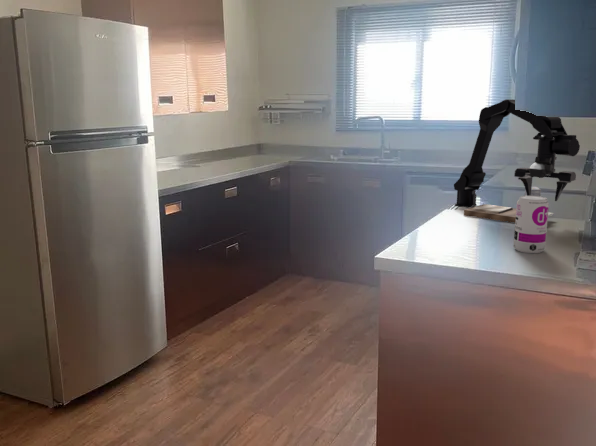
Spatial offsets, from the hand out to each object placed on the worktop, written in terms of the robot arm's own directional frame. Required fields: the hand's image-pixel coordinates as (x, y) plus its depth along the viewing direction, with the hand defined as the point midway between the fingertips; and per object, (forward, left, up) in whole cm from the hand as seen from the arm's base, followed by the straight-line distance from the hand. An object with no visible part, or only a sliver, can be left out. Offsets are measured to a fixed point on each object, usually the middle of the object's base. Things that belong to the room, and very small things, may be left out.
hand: (542, 199), depth 202 cm
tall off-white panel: (-1, 0, -6) cm, 6 cm away
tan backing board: (-14, 0, -8) cm, 16 cm away
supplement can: (+12, -41, -8) cm, 43 cm away
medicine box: (-11, +19, -8) cm, 23 cm away
